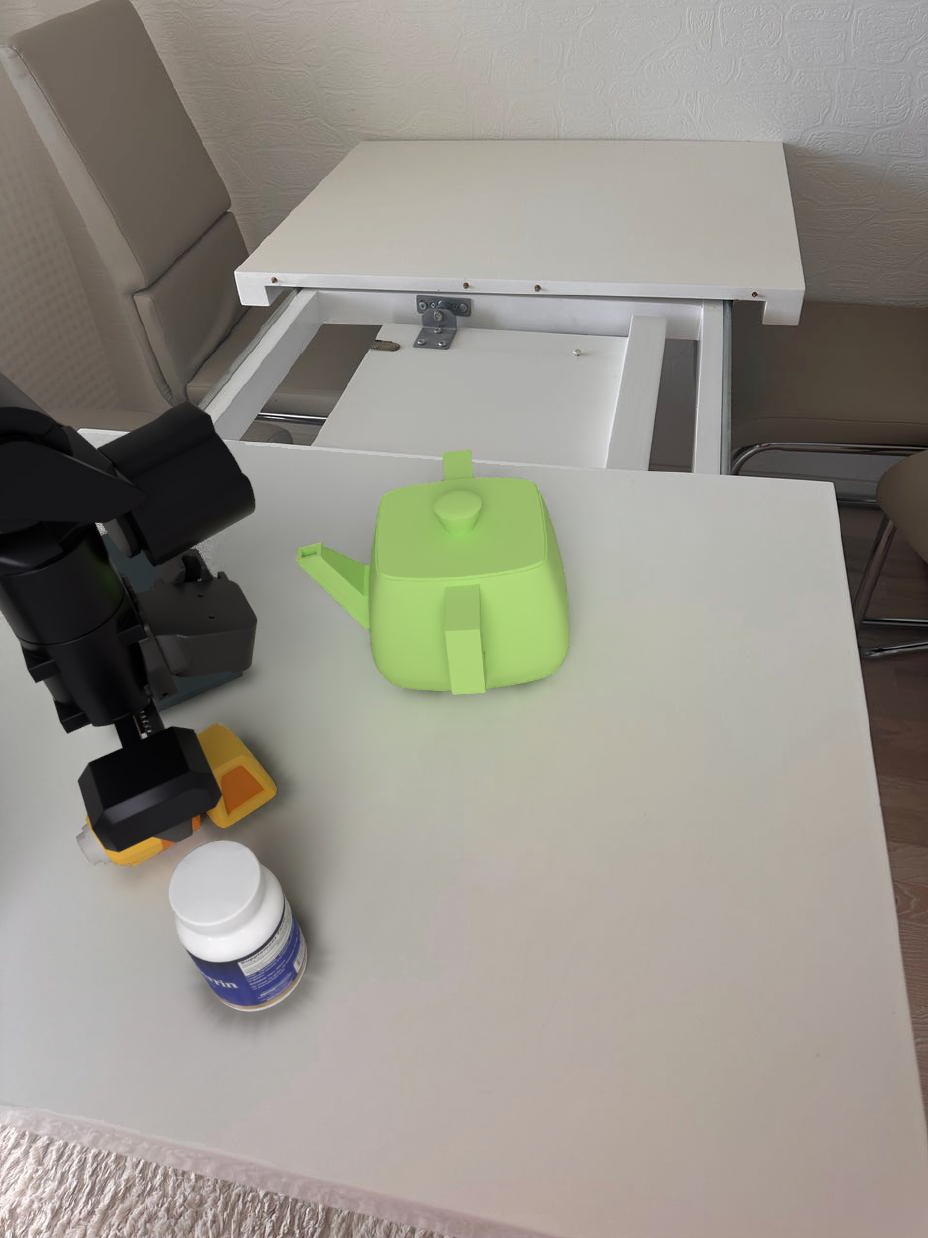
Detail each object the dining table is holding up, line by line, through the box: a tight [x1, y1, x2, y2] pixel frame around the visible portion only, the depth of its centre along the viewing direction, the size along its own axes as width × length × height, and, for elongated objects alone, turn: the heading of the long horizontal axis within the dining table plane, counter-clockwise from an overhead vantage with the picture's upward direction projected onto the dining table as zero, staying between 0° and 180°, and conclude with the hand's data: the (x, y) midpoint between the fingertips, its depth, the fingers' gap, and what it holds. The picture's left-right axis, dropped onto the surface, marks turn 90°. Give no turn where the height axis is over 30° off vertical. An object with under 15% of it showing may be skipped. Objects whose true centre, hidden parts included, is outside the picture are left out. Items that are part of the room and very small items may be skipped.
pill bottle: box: [167, 839, 308, 1012], centre depth 51 cm, size 6×6×10 cm
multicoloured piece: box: [75, 722, 278, 867], centre depth 60 cm, size 5×6×12 cm
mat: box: [101, 532, 243, 712], centre depth 76 cm, size 9×22×1 cm, turn 28°
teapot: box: [295, 448, 570, 696], centre depth 67 cm, size 18×20×13 cm
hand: (162, 781), depth 59 cm, fingers open, 9 cm apart
